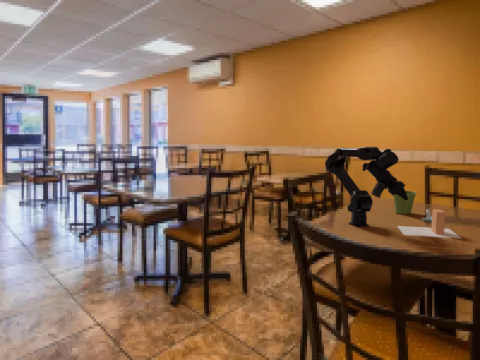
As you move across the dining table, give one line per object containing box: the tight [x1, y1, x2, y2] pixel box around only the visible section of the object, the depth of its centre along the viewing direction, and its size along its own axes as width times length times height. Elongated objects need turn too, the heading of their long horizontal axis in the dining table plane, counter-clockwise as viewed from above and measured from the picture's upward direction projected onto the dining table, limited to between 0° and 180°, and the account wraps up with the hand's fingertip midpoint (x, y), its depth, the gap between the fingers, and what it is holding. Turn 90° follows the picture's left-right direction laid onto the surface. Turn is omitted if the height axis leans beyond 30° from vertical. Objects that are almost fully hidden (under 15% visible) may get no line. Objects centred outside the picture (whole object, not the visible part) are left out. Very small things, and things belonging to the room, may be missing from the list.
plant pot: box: [392, 190, 418, 215], centre depth 169 cm, size 12×12×11 cm
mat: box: [396, 225, 463, 239], centre depth 134 cm, size 20×14×1 cm
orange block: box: [430, 208, 446, 234], centre depth 133 cm, size 3×6×9 cm, turn 165°
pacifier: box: [421, 208, 432, 224], centre depth 151 cm, size 7×6×6 cm
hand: (407, 199), depth 135 cm, fingers closed
